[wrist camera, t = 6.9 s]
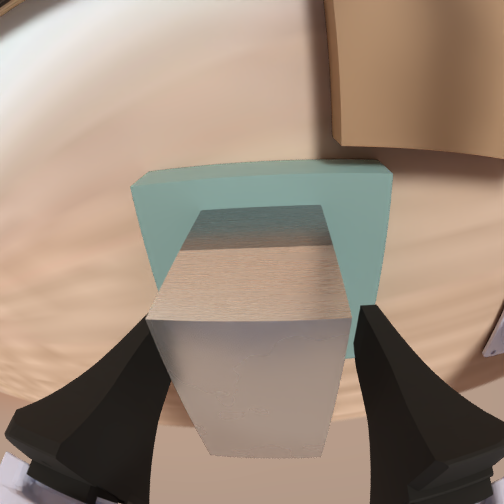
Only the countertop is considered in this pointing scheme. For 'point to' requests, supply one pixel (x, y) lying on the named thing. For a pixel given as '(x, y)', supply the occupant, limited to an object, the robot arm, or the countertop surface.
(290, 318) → the block
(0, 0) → the hardcover book
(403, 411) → the robot arm
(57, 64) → the countertop surface
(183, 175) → the stand
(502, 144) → the stand
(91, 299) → the countertop surface
